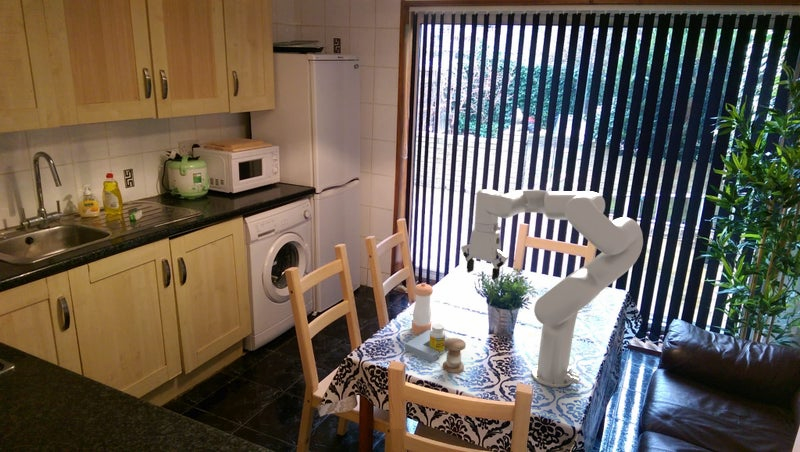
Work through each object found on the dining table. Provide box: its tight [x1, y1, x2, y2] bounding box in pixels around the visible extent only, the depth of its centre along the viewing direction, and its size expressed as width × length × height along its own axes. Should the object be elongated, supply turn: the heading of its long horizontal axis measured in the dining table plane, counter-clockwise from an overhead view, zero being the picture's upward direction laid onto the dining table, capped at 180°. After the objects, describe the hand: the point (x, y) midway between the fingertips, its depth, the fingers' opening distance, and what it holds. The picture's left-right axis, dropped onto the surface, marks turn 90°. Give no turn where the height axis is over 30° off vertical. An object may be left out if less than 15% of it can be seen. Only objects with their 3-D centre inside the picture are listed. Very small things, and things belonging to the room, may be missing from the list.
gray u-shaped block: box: [404, 329, 450, 363], centre depth 190 cm, size 12×14×2 cm
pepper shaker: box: [411, 282, 434, 336], centre depth 200 cm, size 7×7×19 cm
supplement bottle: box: [429, 323, 446, 355], centre depth 187 cm, size 5×5×10 cm
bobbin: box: [442, 337, 467, 374], centre depth 177 cm, size 7×7×9 cm
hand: (482, 274), depth 184 cm, fingers open, 9 cm apart
